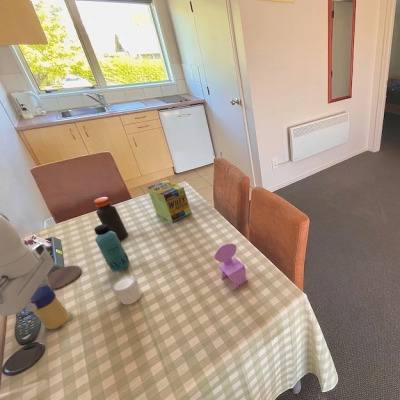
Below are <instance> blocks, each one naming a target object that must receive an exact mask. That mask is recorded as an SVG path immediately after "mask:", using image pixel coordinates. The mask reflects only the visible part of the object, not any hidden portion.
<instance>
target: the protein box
mask: <svg viewBox="0 0 400 400" xmlns="http://www.w3.org/2000/svg"><path fill="white" fill-rule="evenodd" d="M146 189H147V192H148V195H149V197H150V200H151V203H152V205H153V208H154V211H155V214H156V213H157V214H156V215H158V214H159V215H158V216H160V217H162V218H164V219H165V220H167V221H169V222H171V223H175V222H177V221H179V220H181V219H183V218H185V217H187V216H188V214H189V215H191V214H192V210H191V207H190V203H189V200H188V197H187V193H186V190H185V187H184V186H182V185H180V184H178V183H175V182H173V181H171V180H168V179H166V180H163V181H161V182H158V183H155V184H153V185H152V184H151V185H150V186H148V187H146Z"/></svg>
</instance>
